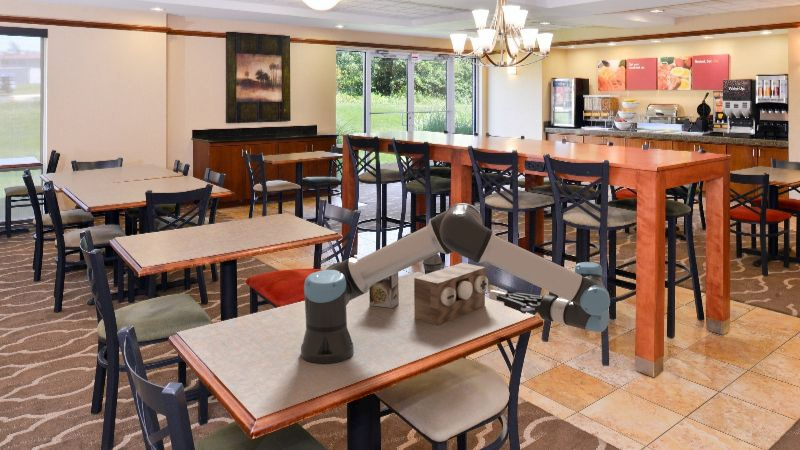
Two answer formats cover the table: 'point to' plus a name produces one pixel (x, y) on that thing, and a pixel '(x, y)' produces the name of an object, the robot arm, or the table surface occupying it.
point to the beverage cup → (432, 264)
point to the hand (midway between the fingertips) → (490, 294)
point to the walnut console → (448, 293)
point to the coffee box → (385, 292)
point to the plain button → (464, 290)
